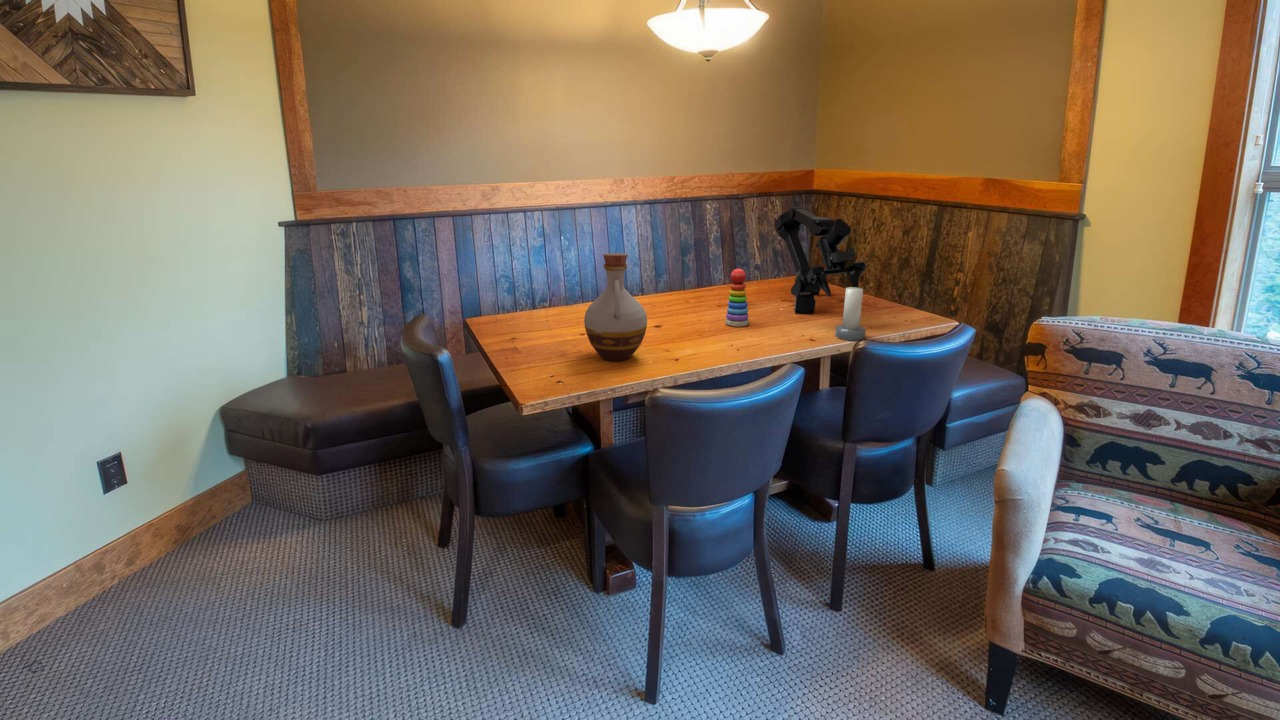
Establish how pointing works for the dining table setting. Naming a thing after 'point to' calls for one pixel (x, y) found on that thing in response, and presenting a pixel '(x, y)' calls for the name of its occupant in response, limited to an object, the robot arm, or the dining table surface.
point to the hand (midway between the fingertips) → (843, 294)
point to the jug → (615, 315)
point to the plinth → (850, 333)
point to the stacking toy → (737, 300)
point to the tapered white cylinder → (852, 308)
